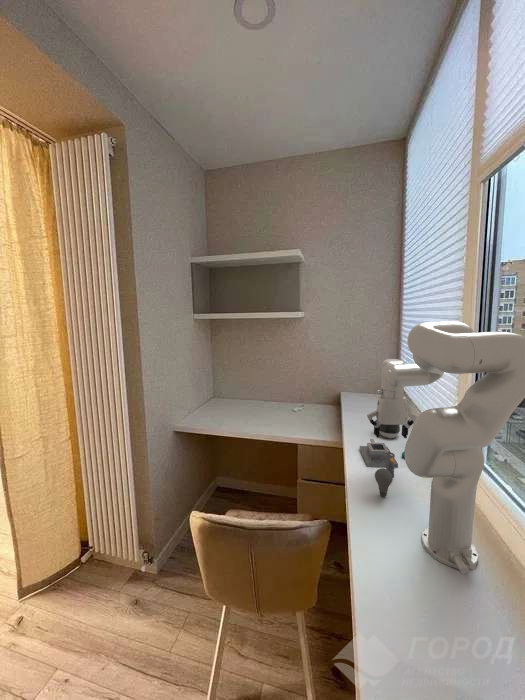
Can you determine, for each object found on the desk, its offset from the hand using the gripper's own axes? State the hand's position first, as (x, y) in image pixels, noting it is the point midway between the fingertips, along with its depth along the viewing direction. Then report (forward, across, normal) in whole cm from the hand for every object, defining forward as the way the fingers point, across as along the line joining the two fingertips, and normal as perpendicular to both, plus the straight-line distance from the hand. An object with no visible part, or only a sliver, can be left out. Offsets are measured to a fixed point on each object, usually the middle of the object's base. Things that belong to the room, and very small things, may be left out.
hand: (390, 436), depth 105 cm
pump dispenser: (+17, +10, +33) cm, 39 cm away
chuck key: (+16, 0, -1) cm, 16 cm away
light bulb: (+16, -6, -13) cm, 21 cm away
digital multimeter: (+17, +16, +16) cm, 28 cm away
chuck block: (+16, -1, +14) cm, 21 cm away
